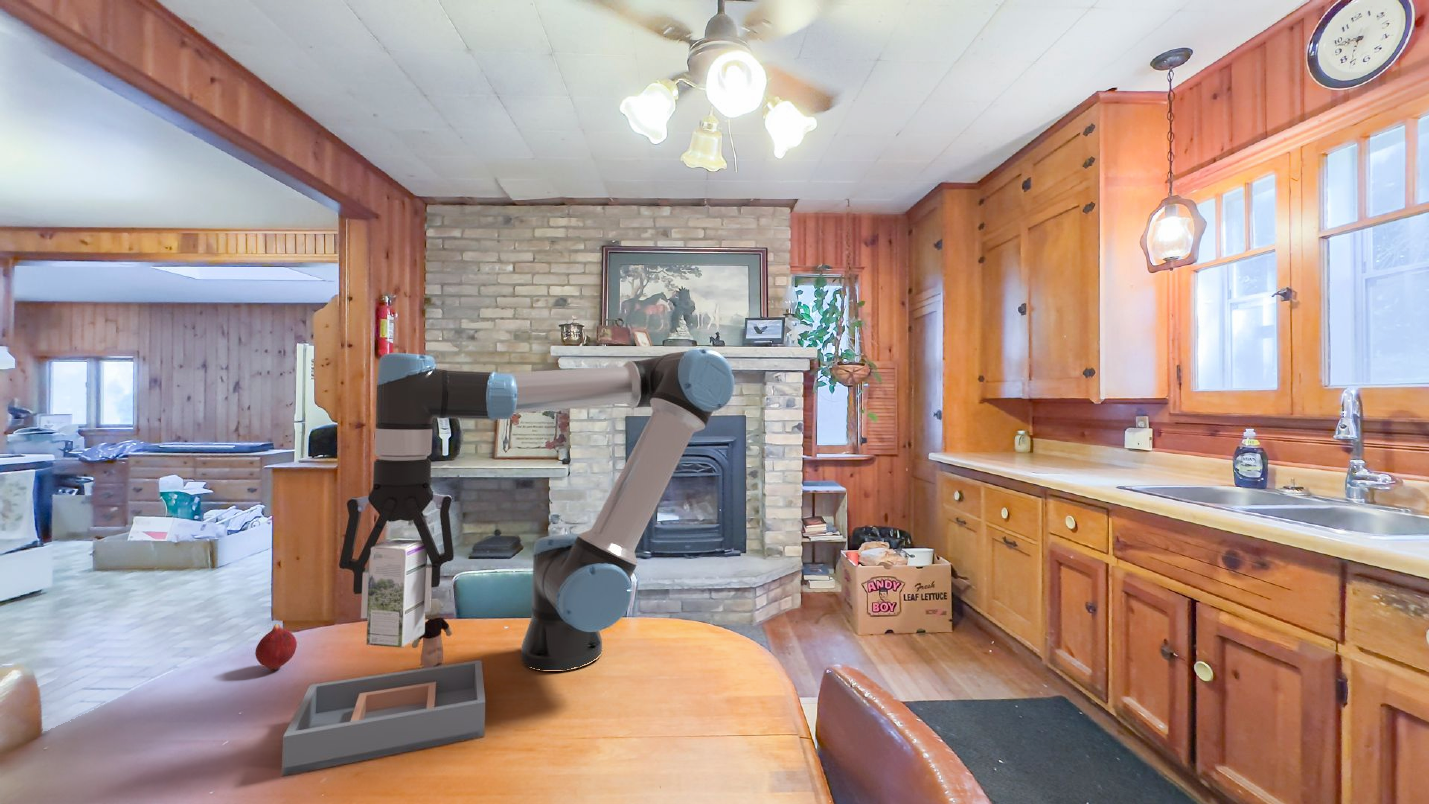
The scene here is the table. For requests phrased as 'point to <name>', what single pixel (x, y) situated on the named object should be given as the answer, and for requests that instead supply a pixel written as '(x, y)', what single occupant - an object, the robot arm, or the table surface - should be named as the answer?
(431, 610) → the grandmother figurine
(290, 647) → the onion
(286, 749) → the walled box
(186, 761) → the table surface
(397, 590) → the syrup box
